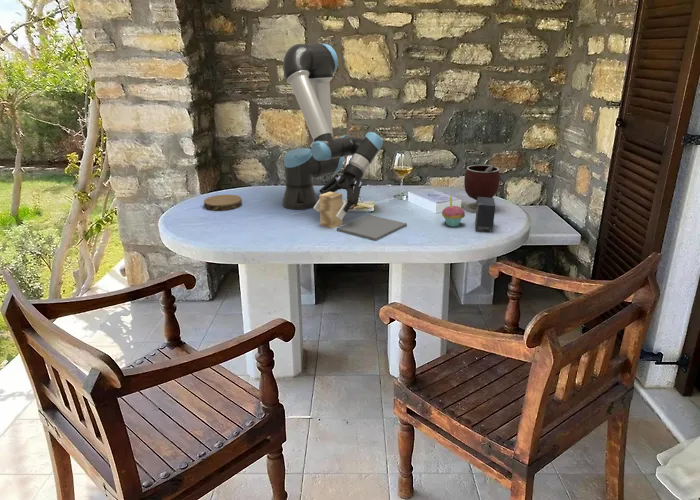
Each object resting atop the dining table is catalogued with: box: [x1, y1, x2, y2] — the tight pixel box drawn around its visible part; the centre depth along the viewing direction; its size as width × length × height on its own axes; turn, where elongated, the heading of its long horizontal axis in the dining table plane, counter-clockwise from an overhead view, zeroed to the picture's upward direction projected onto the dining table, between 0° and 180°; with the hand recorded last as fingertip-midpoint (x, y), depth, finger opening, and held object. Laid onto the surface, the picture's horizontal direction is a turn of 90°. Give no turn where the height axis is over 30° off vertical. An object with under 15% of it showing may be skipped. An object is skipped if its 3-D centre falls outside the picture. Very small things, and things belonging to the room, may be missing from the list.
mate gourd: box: [463, 164, 501, 214], centre depth 211 cm, size 16×14×20 cm
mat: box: [336, 214, 408, 242], centre depth 194 cm, size 18×20×1 cm
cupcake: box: [441, 194, 466, 227], centre depth 195 cm, size 9×8×12 cm
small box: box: [474, 197, 496, 233], centre depth 192 cm, size 11×6×10 cm, turn 168°
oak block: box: [318, 192, 343, 229], centre depth 197 cm, size 6×6×12 cm
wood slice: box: [203, 194, 243, 212], centre depth 223 cm, size 16×16×3 cm
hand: (326, 214), depth 196 cm, fingers open, 13 cm apart
